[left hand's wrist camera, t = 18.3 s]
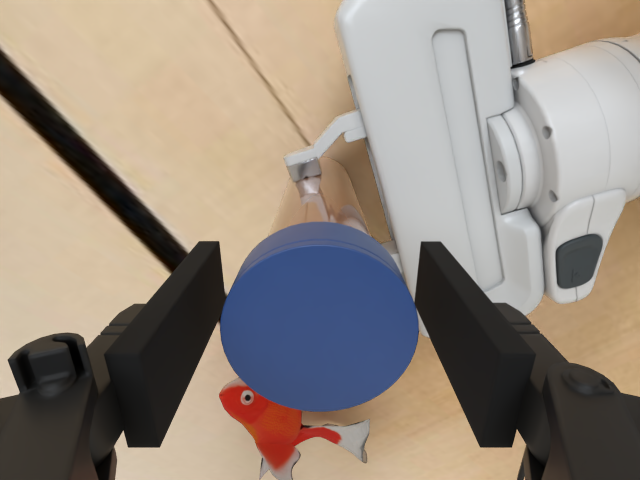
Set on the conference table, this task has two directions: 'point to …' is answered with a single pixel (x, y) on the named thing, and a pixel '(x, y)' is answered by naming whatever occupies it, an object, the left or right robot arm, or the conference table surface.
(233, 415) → the fish
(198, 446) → the conference table surface
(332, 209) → the jar
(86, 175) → the conference table surface
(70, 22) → the conference table surface
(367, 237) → the lid
